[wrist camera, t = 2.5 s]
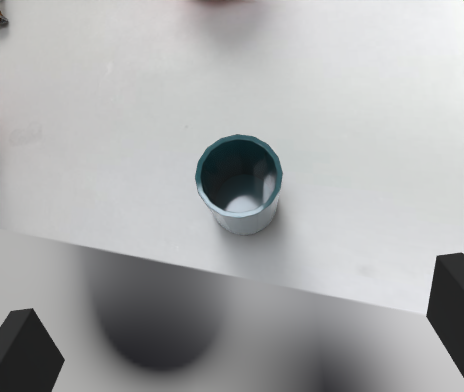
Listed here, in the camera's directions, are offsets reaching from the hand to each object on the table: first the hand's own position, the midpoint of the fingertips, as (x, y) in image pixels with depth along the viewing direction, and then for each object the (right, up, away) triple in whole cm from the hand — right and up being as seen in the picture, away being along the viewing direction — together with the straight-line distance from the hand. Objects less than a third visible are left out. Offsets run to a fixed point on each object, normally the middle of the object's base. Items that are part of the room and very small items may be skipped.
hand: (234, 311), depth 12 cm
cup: (+1, +3, +29) cm, 29 cm away
